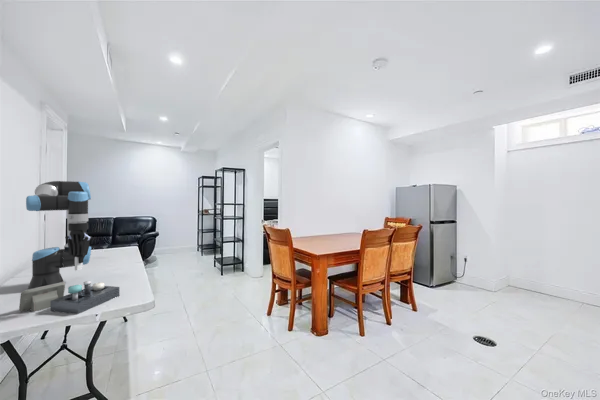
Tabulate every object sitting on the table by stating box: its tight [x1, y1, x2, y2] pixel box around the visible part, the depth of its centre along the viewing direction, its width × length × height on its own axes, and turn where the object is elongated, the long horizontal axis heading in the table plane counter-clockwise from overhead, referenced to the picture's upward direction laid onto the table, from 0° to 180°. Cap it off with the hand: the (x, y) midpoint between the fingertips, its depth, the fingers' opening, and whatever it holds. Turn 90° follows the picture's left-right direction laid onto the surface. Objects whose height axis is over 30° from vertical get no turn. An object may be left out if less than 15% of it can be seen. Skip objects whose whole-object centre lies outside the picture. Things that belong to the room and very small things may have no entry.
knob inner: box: [92, 281, 105, 292], centre depth 136 cm, size 5×5×7 cm
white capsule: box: [83, 280, 92, 294], centre depth 130 cm, size 3×3×6 cm
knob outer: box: [67, 284, 83, 301], centre depth 124 cm, size 5×5×7 cm
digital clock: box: [18, 281, 66, 313], centre depth 125 cm, size 16×9×11 cm, turn 138°
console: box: [50, 285, 120, 315], centre depth 130 cm, size 16×22×5 cm
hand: (78, 269), depth 126 cm, fingers closed
